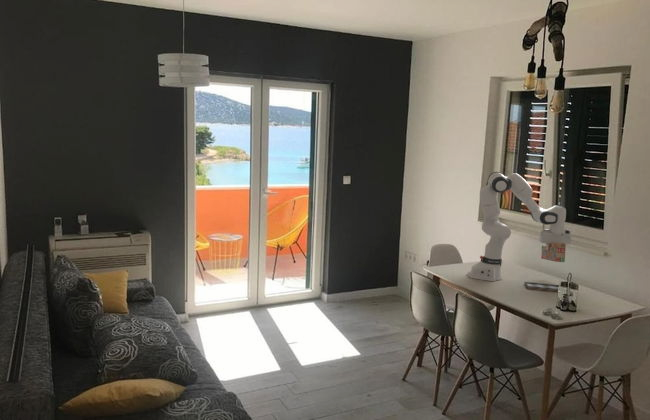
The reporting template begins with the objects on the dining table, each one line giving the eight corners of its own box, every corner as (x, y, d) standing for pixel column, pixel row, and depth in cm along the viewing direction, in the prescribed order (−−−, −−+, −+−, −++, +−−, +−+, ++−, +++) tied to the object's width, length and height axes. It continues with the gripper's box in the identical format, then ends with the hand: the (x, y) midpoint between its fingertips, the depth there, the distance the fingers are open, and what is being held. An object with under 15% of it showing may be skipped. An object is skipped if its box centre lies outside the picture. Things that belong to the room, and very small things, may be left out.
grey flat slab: (527, 288, 349) (527, 285, 349) (524, 284, 359) (524, 281, 358) (567, 293, 345) (568, 290, 345) (563, 288, 355) (564, 285, 354)
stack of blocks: (540, 258, 374) (541, 240, 374) (549, 259, 374) (550, 241, 374) (555, 261, 352) (556, 242, 352) (564, 262, 353) (566, 243, 353)
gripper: (543, 229, 356) (540, 250, 359) (573, 231, 357) (570, 252, 360) (539, 227, 363) (536, 248, 365) (569, 229, 364) (566, 249, 366)
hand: (553, 250), depth 362 cm, fingers closed on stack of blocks, 6 cm apart
